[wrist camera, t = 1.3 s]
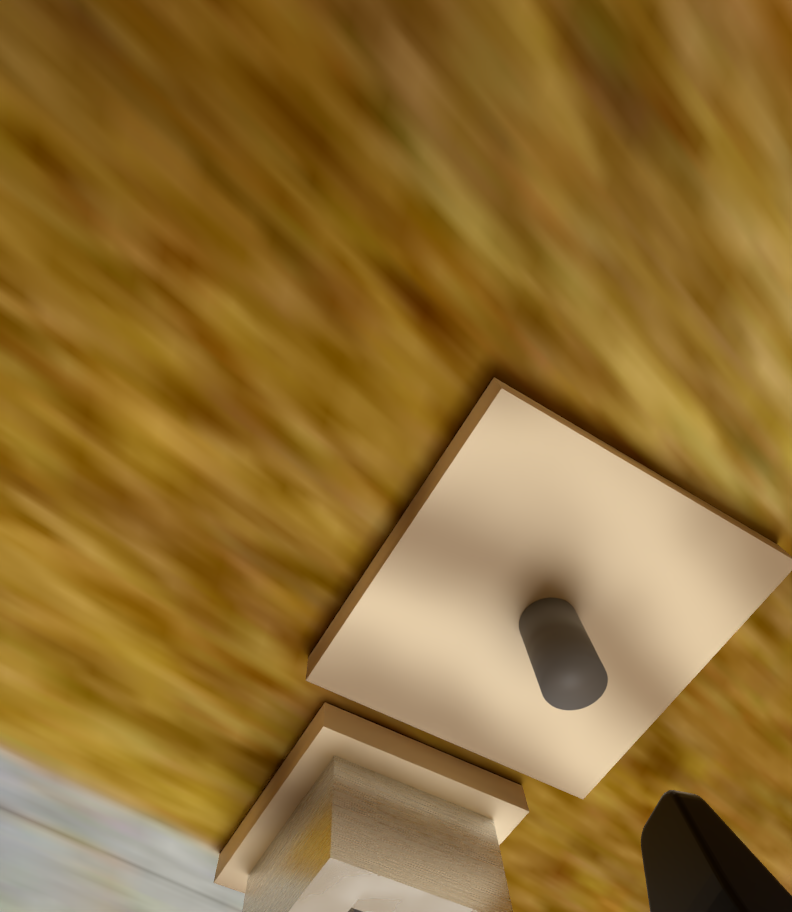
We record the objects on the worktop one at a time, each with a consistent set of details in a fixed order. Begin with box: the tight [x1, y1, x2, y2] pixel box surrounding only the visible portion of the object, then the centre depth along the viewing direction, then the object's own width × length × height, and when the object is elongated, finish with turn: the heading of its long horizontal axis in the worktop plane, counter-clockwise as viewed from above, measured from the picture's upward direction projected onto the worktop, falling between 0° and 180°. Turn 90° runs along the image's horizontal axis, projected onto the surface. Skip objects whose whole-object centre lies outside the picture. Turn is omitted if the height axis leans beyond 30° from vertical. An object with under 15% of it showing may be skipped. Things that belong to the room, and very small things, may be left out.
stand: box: [214, 702, 529, 912], centre depth 26 cm, size 9×9×4 cm
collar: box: [242, 755, 513, 912], centre depth 25 cm, size 7×7×4 cm
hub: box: [306, 377, 792, 799], centre depth 22 cm, size 12×12×4 cm
